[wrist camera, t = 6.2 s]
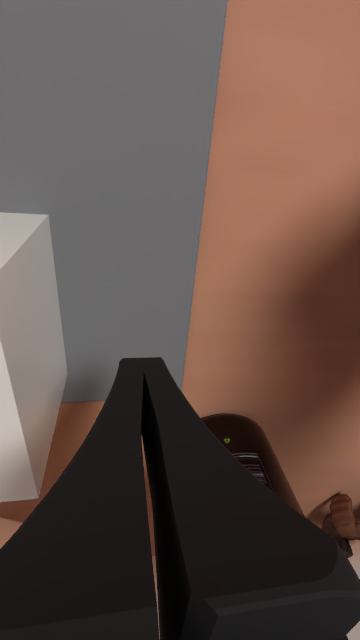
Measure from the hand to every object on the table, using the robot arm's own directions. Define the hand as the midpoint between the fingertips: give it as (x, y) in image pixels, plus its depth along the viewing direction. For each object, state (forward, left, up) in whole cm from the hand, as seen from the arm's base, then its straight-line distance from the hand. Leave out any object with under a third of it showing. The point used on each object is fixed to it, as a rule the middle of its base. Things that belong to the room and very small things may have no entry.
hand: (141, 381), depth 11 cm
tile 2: (+4, 0, -5) cm, 7 cm away
